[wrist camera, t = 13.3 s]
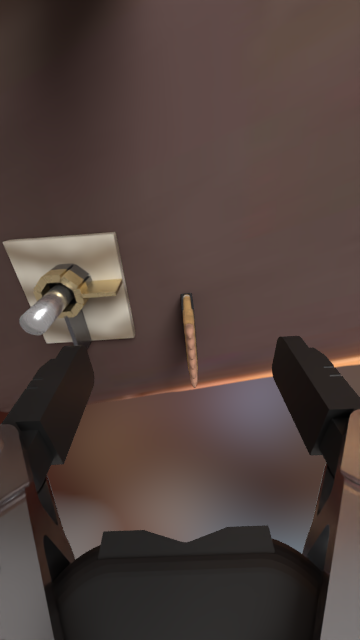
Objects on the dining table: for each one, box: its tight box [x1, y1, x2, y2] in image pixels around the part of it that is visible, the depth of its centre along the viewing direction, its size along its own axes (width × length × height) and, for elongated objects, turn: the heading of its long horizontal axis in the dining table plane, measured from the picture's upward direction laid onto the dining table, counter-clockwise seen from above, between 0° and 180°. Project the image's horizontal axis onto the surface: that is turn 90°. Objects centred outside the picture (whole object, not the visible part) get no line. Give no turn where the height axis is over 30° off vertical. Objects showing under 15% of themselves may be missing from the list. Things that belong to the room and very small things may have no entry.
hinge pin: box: [19, 282, 75, 335], centre depth 33 cm, size 3×3×12 cm
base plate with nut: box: [3, 232, 135, 350], centre depth 38 cm, size 18×16×6 cm
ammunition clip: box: [181, 293, 198, 388], centre depth 39 cm, size 11×2×12 cm, turn 5°
